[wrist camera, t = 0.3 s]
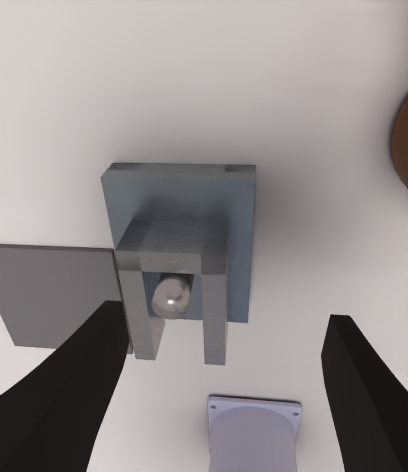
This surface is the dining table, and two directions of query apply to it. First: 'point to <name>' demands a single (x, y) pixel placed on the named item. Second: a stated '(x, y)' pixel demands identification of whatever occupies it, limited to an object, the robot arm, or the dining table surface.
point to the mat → (54, 291)
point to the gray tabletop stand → (174, 261)
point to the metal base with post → (193, 210)
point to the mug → (401, 144)
